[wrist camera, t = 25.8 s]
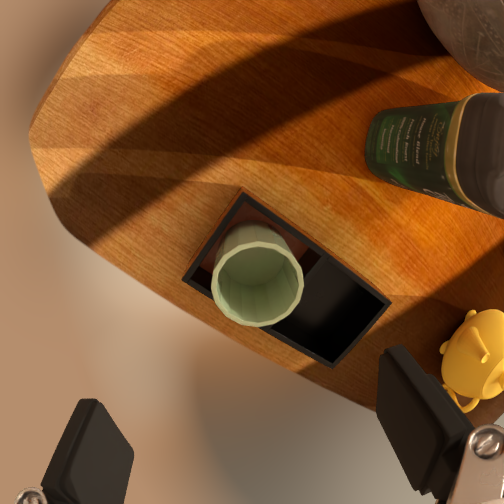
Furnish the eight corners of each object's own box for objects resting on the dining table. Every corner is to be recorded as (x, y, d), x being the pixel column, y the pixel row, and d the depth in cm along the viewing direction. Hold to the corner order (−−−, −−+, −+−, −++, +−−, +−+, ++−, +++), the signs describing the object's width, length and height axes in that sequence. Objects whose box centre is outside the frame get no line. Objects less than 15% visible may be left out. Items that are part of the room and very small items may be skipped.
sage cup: (226, 292, 32) (223, 334, 24) (210, 228, 30) (201, 253, 22) (292, 278, 32) (308, 316, 24) (280, 213, 30) (295, 233, 22)
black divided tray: (188, 263, 32) (181, 280, 27) (242, 186, 30) (242, 191, 25) (322, 346, 35) (332, 369, 31) (375, 285, 34) (392, 302, 29)
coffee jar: (354, 174, 30) (482, 205, 12) (370, 101, 28) (500, 65, 10) (428, 199, 31) (558, 246, 13) (442, 133, 29) (575, 138, 11)
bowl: (521, 47, 24) (591, 35, 10) (479, 135, 29) (573, 141, 14) (422, -58, 20) (478, -104, 6) (354, 9, 24) (421, -60, 10)
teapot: (393, 357, 37) (432, 414, 26) (464, 270, 34) (522, 307, 23) (454, 398, 41) (486, 440, 30) (510, 332, 38) (550, 366, 27)
